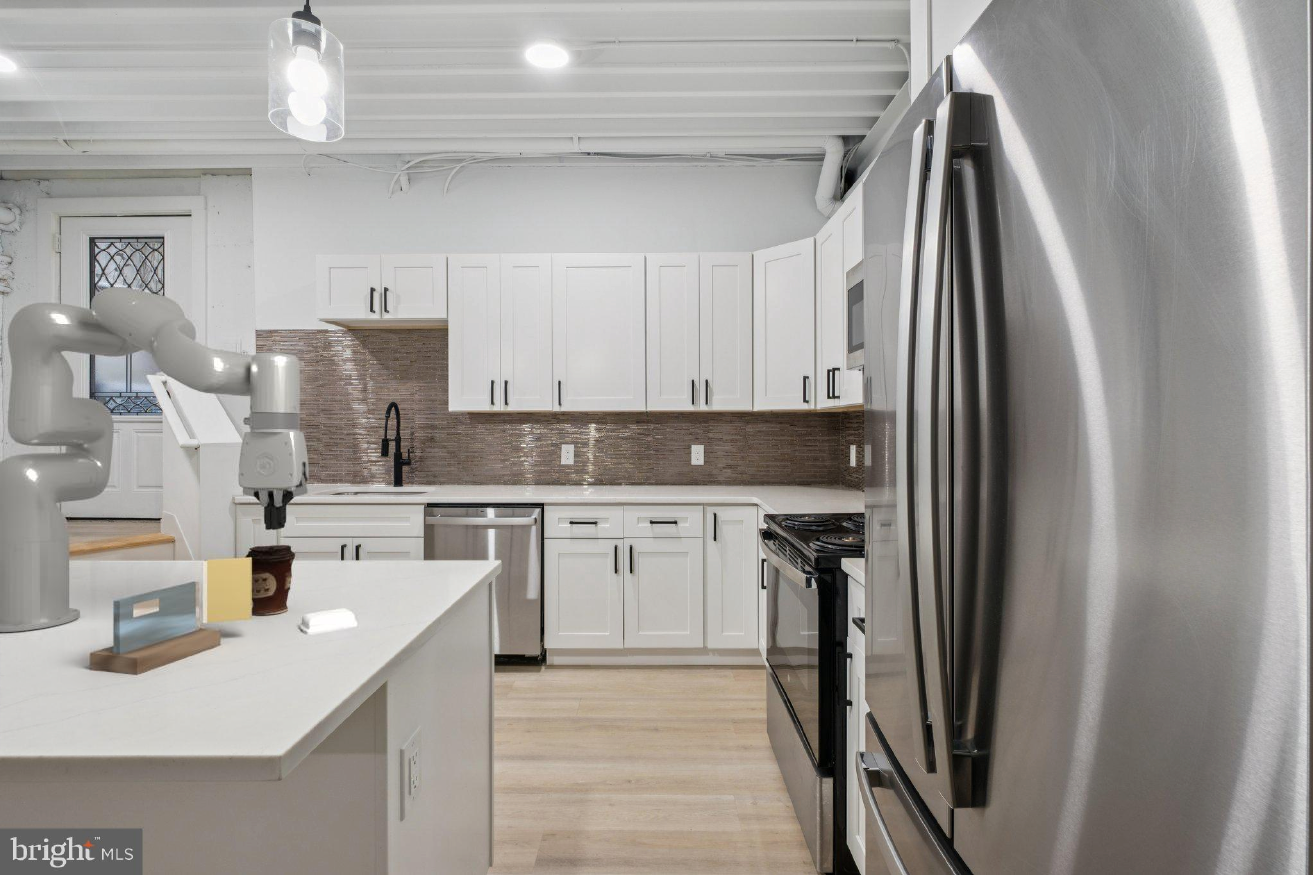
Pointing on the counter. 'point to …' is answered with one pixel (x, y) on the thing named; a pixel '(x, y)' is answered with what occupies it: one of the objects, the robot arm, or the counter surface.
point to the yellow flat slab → (226, 590)
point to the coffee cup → (270, 578)
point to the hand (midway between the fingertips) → (275, 528)
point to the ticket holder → (155, 631)
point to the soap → (327, 621)
